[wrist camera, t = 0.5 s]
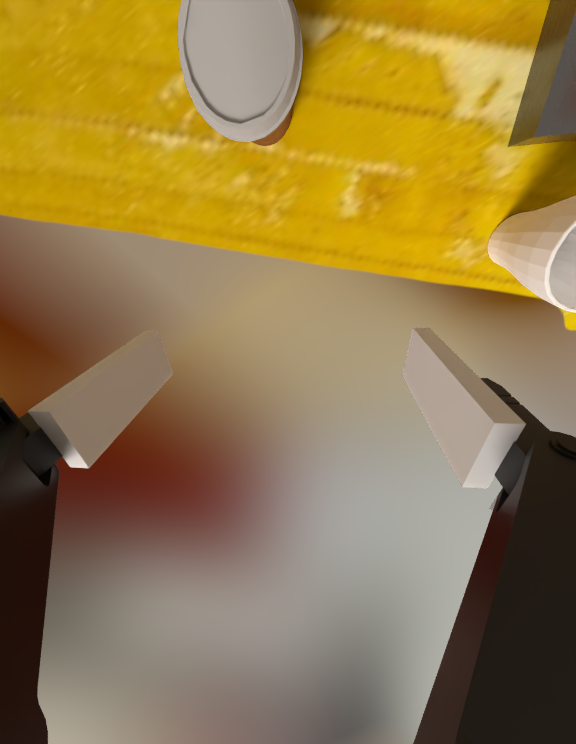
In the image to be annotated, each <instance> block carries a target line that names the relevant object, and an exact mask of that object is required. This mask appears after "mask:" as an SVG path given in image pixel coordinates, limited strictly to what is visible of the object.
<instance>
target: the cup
mask: <svg viewBox="0 0 576 744" xmlns="http://www.w3.org/2000/svg"><path fill="white" fill-rule="evenodd" d="M488 254H489V257H490V259H491V260H492V261H493V262H495V263H497V264H498V265H501V266H503V267H505V268H506V269H507V270H508V271H509V272H511V273H512V274H513V275H514V276H515V277H516V278H517V279H518V280H519V282H520V283H521V284H522V285H524V286H525V287H526V288H528V289H529V290H530V291H532V292H533V293H534V294H536V295H537V296H538V297H540V298H542V299H544V300H546V301H548V302H549V303H551V304H553V305H555V306H557V307H559V308H561V309H563V310H565V311H571V312H576V196H573V197H570V198H567V199H565V200H562V201H560V202H557V203H555V204H552V205H550V206H547V207H544V208H541V209H538V210H535V211H529V212H523V213H518V214H515V215H513V216H511V217H509V218H507V219H506V220H504V221H503V222H502V223H501V224H500V225H499V226H498V227H497V228H496V229H495V231H494V232H493V234H492V236H491V238H490V240H489V243H488Z"/></svg>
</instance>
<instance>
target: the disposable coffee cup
mask: <svg viewBox="0 0 576 744" xmlns="http://www.w3.org/2000/svg"><path fill="white" fill-rule="evenodd" d="M178 46H179V53H180V61H181V67H182V71H183V76H184V80H185V83H186V86H187V89H188V91H189V94H190V97H191V98H192V100H193V102H194V104H195V106H196V108H197V110H198V111H199V113H200V114H201V115H202V117H203V118H204V119H205V121H206V122H207V123H208V124H209V125H210V126H211V127H212V128H213V129H214V130H215V131H217V132H218V133H220V134H221V135H223V136H225V137H227V138H229V139H232V140H235V141H241V142H250V141H251V142H254V143H256V144H258V145H262V146H268V145H272V144H275V143H276V142H278V141H279V140H280V139H281V138H282V137H283V136H284V135H285V133H286V131H287V129H288V127H289V124H290V121H291V117H292V108H293V102H294V100H295V97H296V95H297V91H298V87H299V83H300V79H301V71H302V61H303V47H302V35H301V28H300V22H299V19H298V15H297V11H296V8H295V5H294V3H293V0H182V2H181V6H180V10H179V20H178Z"/></svg>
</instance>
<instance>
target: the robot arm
mask: <svg viewBox="0 0 576 744" xmlns="http://www.w3.org/2000/svg"><path fill="white" fill-rule="evenodd" d="M172 375H173V372H172V369H171V366H170V363H169V360H168V357H167V354H166V351H165V349H164V346H163V343H162V340H161V337H160V334H159V331H144V332H143V333H141V334H140V335H138V336H137V337H135V338H134V339H132V340H131V341H130V342H128V343H127V344H125V345H124V346H122V347H121V348H119V349H118V350H116V351H115V352H113V353H112V354H111V355H109V356H108V357H106V358H105V359H103V360H102V361H100V362H99V363H97V364H96V365H94V366H93V367H91V368H90V369H89V370H87V371H86V372H84V373H83V374H81V375H80V376H78V377H77V378H76V379H74V380H73V381H71V382H70V383H68V384H67V385H65V386H64V387H62V388H61V389H59V390H58V391H56V392H55V393H53V394H52V395H51V396H49V397H48V398H46V399H45V400H43V401H42V402H40V403H39V404H37V405H36V406H34V407H33V408H31V409H30V410H29V411H28V413H26V414H25V415H24V416H22V417H21V418H18V417H17V416H16V414H15V413H14V412H13V411H12V409H11V408H10V407H9V406H8V404H7V403H6V402H5V401H4V400H3V399H2V398H0V744H48V731H47V725H46V719H45V717H44V715H43V712H42V710H41V708H40V706H39V703H38V697H37V687H38V677H39V667H40V657H41V647H42V638H43V628H44V618H45V608H46V597H47V588H48V579H49V568H50V559H51V549H52V539H53V529H54V519H55V509H56V500H57V489H58V480H59V468H58V467H57V465H56V464H55V463H56V461H58V460H59V459H60V458H61V457H63V458H64V459H65V461H66V462H67V463H68V465H69V466H70V467H76V468H90V466H91V465H92V464H93V463H94V462H95V461H96V460H97V459H98V458H99V456H100V455H101V454H102V453H103V452H104V451H105V450H106V449H107V447H108V446H109V445H110V444H111V443H112V442H113V441H114V440H115V438H116V437H117V436H118V435H119V434H120V433H121V432H122V431H123V429H124V428H125V427H126V426H127V425H128V424H129V423H130V422H131V421H132V419H133V418H134V417H135V416H136V415H137V414H138V413H139V412H140V410H141V409H142V408H143V407H144V406H145V405H146V404H147V403H148V401H149V400H150V399H151V398H152V397H153V396H154V395H155V394H156V392H157V391H158V390H159V389H160V388H161V387H162V386H163V384H165V382H166V381H167V380H168V379H169V378H170V377H171V376H172ZM402 376H403V378H404V380H405V382H406V384H407V386H408V388H409V390H410V391H411V393H412V395H413V397H414V399H415V401H416V402H417V404H418V406H419V408H420V410H421V412H422V414H423V415H424V417H425V419H426V421H427V423H428V425H429V427H430V429H431V430H432V432H433V434H434V436H435V438H436V440H437V441H438V443H439V445H440V447H441V449H442V451H443V453H444V455H445V456H446V458H447V460H448V462H449V464H450V466H451V468H452V469H453V471H454V473H455V475H456V477H457V479H458V481H459V482H460V484H461V486H462V487H470V488H488V487H489V485H490V484H491V482H492V480H493V479H494V477H495V476H496V478H497V479H498V481H499V482H500V484H501V485H502V486H503V488H502V490H501V491H500V493H499V495H498V496H497V497H496V499H495V500H494V502H493V504H492V505H491V507H490V509H491V510H493V512H492V515H491V518H490V521H489V524H488V527H487V530H486V533H485V536H484V538H483V542H482V545H481V547H480V550H479V553H478V556H477V559H476V562H475V565H474V568H473V571H472V574H471V577H470V580H469V583H468V585H467V588H466V591H465V594H464V597H463V600H462V603H461V606H460V609H459V612H458V615H457V617H456V620H455V623H454V626H453V629H452V632H451V635H450V638H449V641H448V644H447V647H446V650H445V653H444V656H443V659H442V662H441V664H440V668H439V670H438V673H437V676H436V679H435V682H434V685H433V688H432V691H431V694H430V697H429V700H428V703H427V705H426V708H425V711H424V714H423V717H422V720H421V723H420V726H419V729H418V732H417V735H416V738H415V741H414V743H413V744H576V438H575V437H573V436H571V435H567V434H564V433H560V432H553V431H550V430H549V429H547V428H546V427H545V426H544V425H543V424H542V423H541V422H540V421H539V420H538V419H537V418H536V417H535V416H533V415H532V414H531V413H530V412H529V411H528V410H527V409H526V408H525V407H524V406H522V405H520V403H519V402H518V401H517V400H516V399H515V398H514V397H511V394H510V393H508V392H507V391H506V390H505V389H504V388H503V387H502V386H500V385H499V384H497V383H495V382H493V381H491V380H489V379H488V378H479V377H478V376H477V375H476V374H475V373H474V372H473V371H472V370H471V369H470V368H469V367H468V366H467V365H466V364H465V363H464V362H463V361H462V360H461V359H460V358H459V357H458V356H457V355H456V354H455V353H454V352H453V351H452V350H451V349H450V348H449V347H448V346H447V345H446V344H445V343H444V342H443V341H442V340H441V339H440V338H439V337H438V336H437V335H436V334H435V333H434V332H433V331H432V330H431V329H430V328H413V329H412V334H411V338H410V343H409V347H408V352H407V356H406V361H405V366H404V370H403V374H402Z"/></svg>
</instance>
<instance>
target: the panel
mask: <svg viewBox="0 0 576 744" xmlns="http://www.w3.org/2000/svg"><path fill="white" fill-rule="evenodd" d="M569 140H576V0H551V1H550V4H549V8H548V11H547V15H546V18H545V21H544V25H543V28H542V32H541V35H540V39H539V42H538V45H537V49H536V52H535V56H534V59H533V63H532V66H531V69H530V73H529V76H528V80H527V83H526V87H525V90H524V93H523V97H522V100H521V104H520V107H519V111H518V114H517V117H516V121H515V124H514V128H513V131H512V135H511V138H510V141H509V145H508V147H510V146H520V145H530V144H540V143H550V142H559V141H569Z"/></svg>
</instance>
